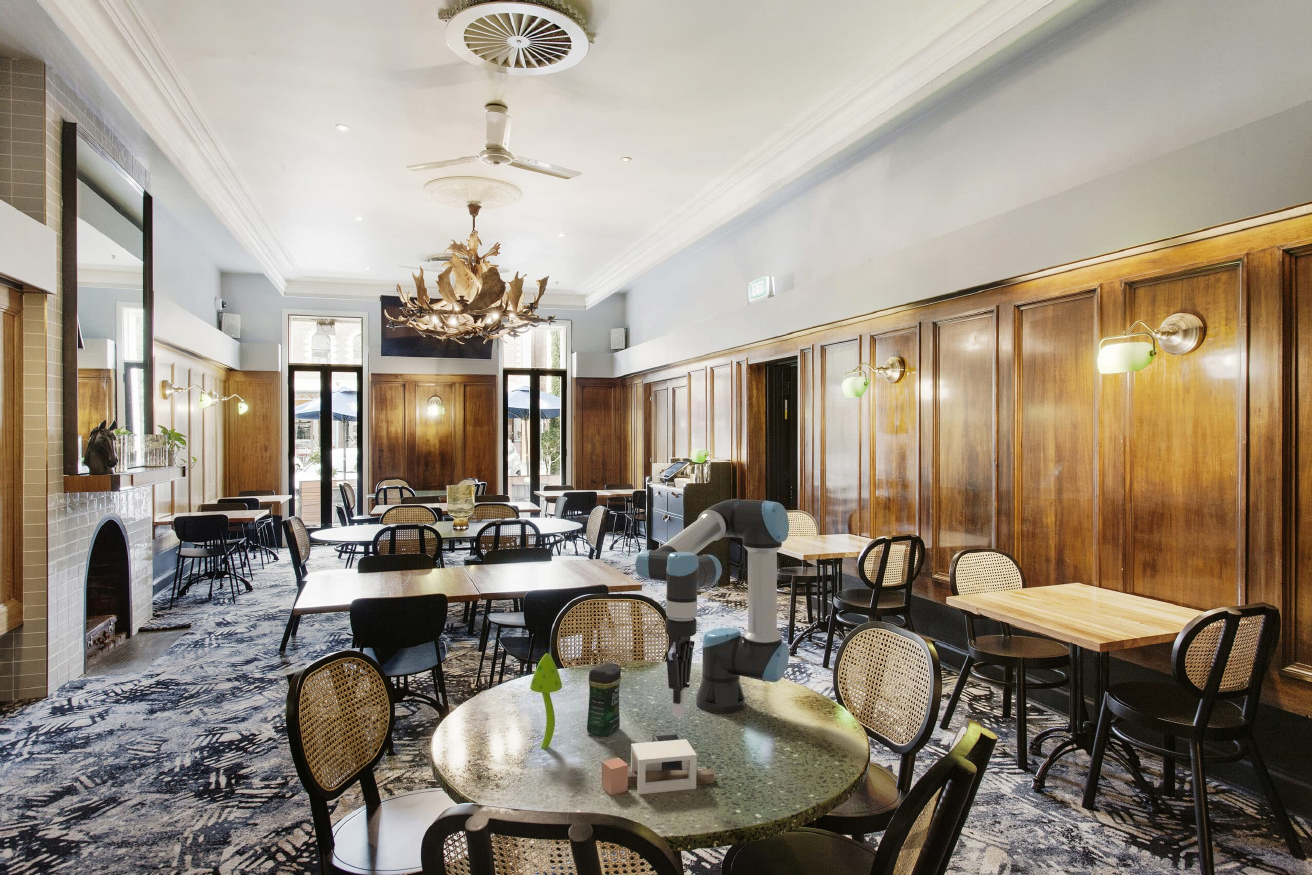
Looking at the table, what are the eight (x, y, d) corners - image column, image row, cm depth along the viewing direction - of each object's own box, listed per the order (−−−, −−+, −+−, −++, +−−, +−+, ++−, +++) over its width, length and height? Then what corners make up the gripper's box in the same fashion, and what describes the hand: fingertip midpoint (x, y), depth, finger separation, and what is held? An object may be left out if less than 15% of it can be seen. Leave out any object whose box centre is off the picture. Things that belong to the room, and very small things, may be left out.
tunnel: (679, 760, 182) (679, 729, 182) (696, 788, 167) (696, 754, 167) (625, 764, 179) (626, 733, 179) (638, 794, 164) (639, 759, 164)
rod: (711, 779, 173) (711, 769, 173) (713, 784, 170) (713, 773, 170) (621, 782, 171) (621, 771, 171) (622, 787, 168) (622, 776, 168)
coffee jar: (607, 740, 193) (608, 672, 193) (582, 734, 196) (583, 667, 196) (624, 727, 202) (625, 662, 202) (600, 722, 205) (601, 658, 205)
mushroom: (532, 739, 192) (534, 647, 192) (563, 740, 192) (565, 648, 192) (525, 753, 184) (527, 657, 184) (557, 754, 184) (559, 658, 184)
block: (618, 782, 170) (618, 757, 170) (627, 790, 166) (628, 764, 166) (601, 786, 167) (601, 761, 167) (610, 795, 164) (611, 769, 164)
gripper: (677, 609, 178) (674, 703, 178) (655, 620, 166) (652, 721, 166) (705, 613, 175) (702, 709, 175) (685, 625, 163) (682, 727, 163)
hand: (678, 715), depth 170 cm, fingers closed
